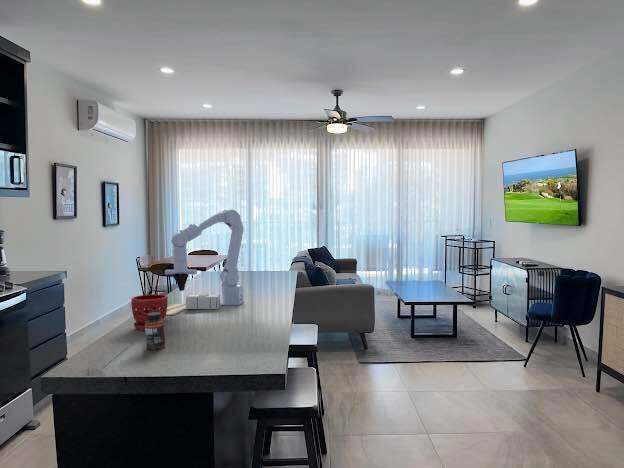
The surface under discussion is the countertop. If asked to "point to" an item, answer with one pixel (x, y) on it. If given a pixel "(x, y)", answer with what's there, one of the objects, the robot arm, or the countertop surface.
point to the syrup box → (202, 301)
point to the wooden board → (175, 309)
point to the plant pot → (149, 303)
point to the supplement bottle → (154, 331)
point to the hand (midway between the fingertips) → (181, 290)
